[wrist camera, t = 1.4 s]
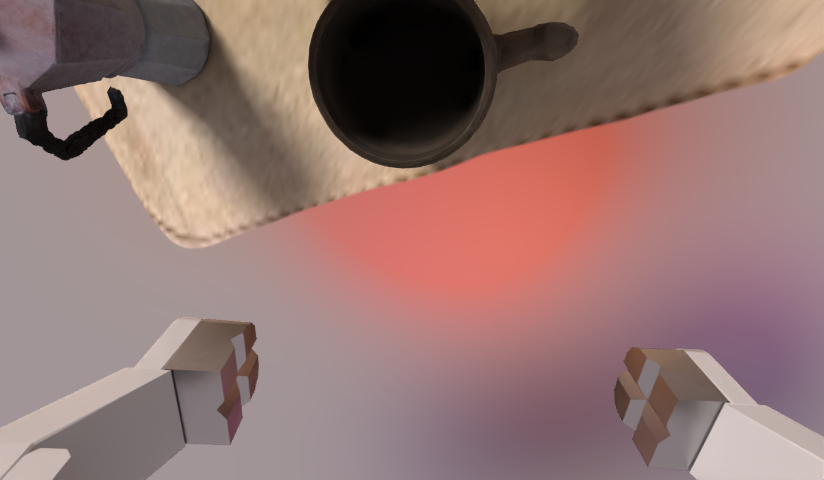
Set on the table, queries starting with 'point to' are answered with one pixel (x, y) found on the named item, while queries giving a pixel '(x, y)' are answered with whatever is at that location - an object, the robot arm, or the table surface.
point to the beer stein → (415, 73)
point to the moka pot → (92, 56)
